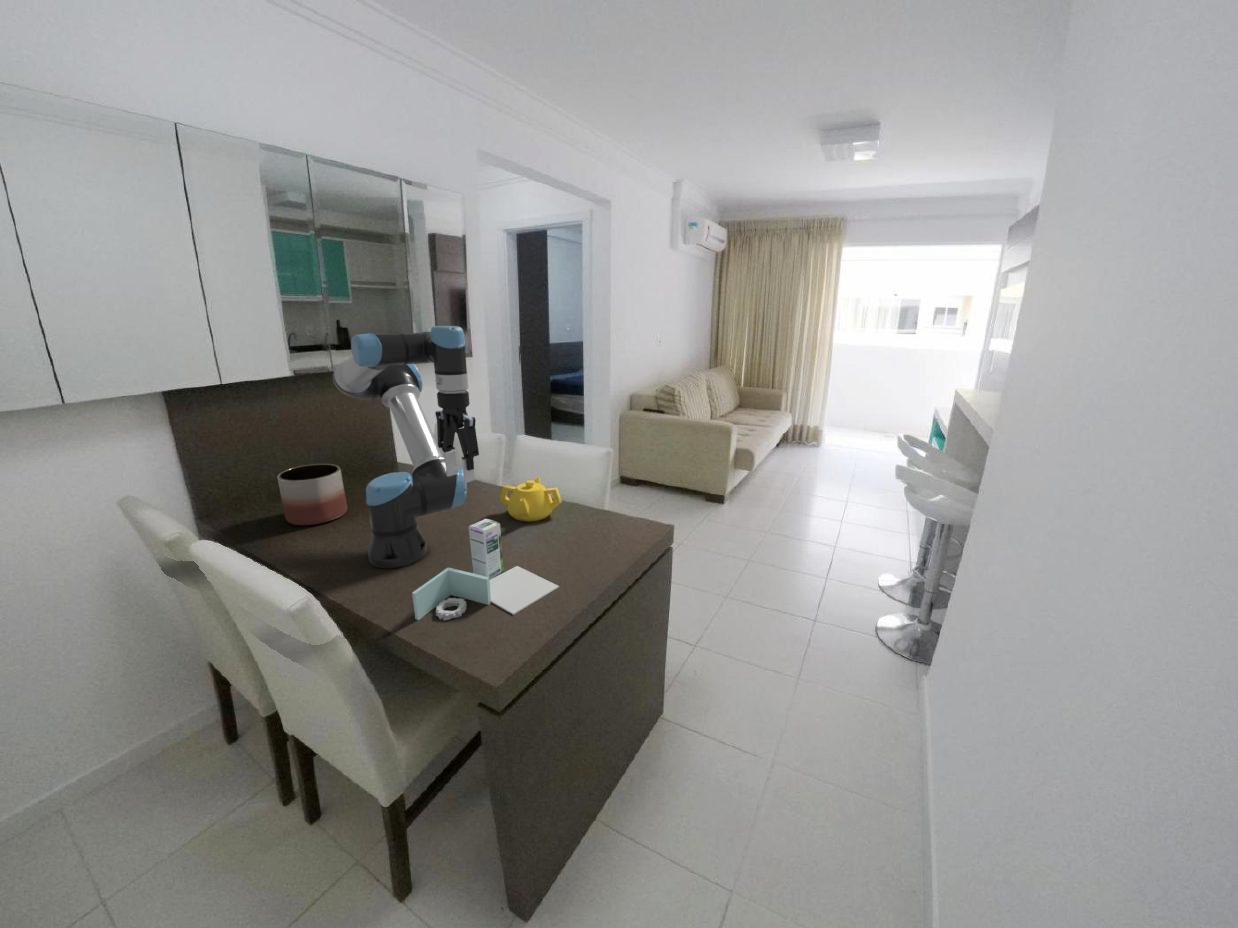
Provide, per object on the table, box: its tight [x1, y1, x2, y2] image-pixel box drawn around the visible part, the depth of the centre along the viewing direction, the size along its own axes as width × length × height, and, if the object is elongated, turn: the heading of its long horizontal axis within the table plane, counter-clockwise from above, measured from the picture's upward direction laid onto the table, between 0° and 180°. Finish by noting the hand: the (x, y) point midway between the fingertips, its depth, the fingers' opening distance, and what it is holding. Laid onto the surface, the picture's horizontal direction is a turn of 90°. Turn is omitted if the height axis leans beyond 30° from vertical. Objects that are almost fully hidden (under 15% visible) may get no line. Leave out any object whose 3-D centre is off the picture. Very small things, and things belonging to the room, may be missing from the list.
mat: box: [490, 565, 560, 616], centre depth 122 cm, size 16×15×1 cm
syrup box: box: [468, 518, 505, 580], centre depth 127 cm, size 6×6×14 cm
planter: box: [276, 463, 348, 526], centre depth 159 cm, size 18×18×16 cm
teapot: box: [498, 477, 563, 522], centre depth 165 cm, size 17×17×12 cm
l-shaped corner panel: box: [411, 567, 492, 621], centre depth 112 cm, size 12×12×8 cm
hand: (460, 477), depth 126 cm, fingers open, 7 cm apart
